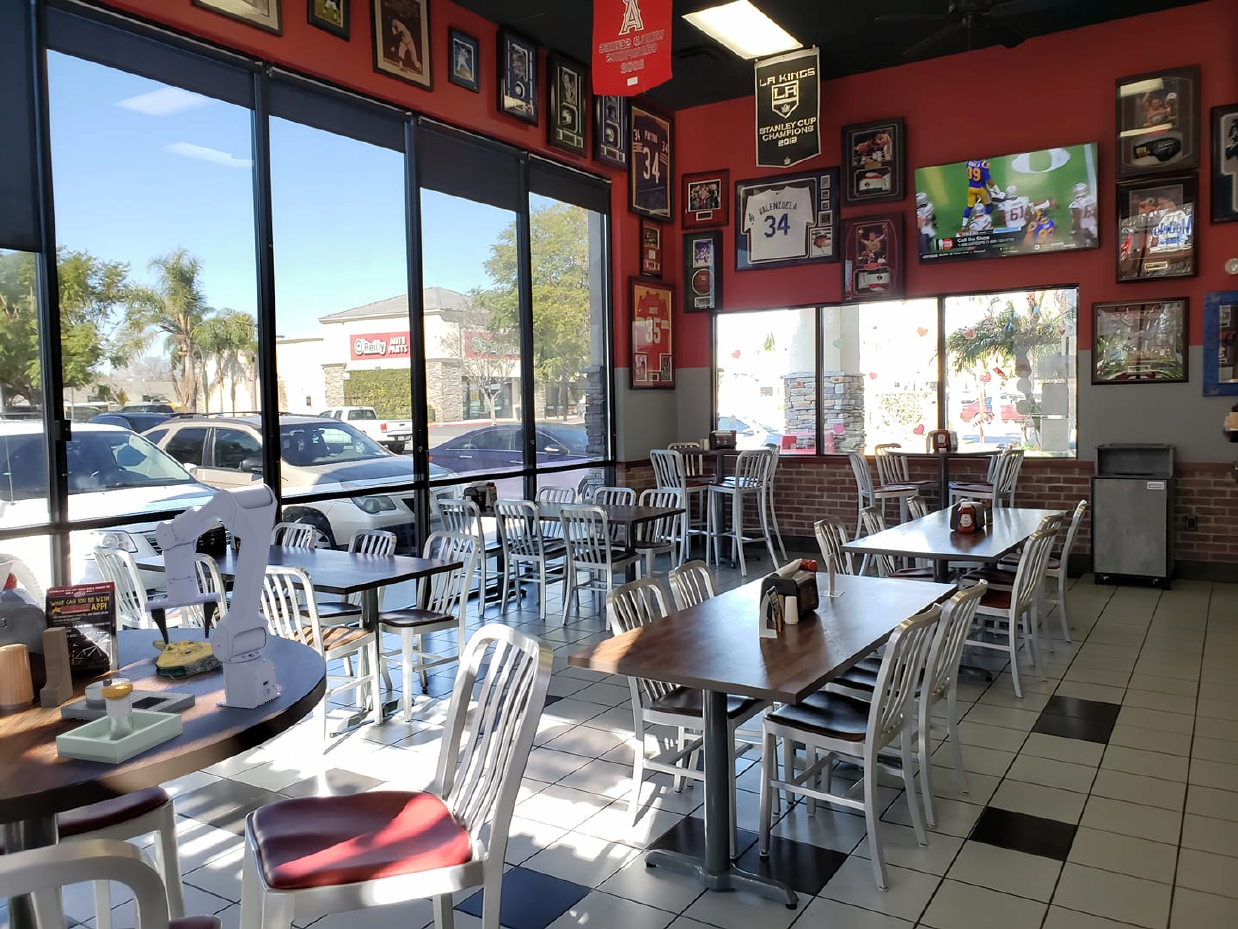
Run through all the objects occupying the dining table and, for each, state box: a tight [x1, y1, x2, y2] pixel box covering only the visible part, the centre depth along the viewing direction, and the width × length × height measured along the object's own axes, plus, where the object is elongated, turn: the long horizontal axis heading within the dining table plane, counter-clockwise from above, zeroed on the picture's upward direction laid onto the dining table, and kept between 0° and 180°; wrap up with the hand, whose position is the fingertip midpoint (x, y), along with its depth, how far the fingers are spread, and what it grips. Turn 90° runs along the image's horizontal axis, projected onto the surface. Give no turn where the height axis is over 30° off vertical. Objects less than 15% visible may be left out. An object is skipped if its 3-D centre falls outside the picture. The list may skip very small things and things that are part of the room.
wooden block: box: [39, 626, 74, 708], centre depth 189 cm, size 7×3×15 cm, turn 6°
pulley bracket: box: [59, 677, 196, 722], centre depth 182 cm, size 22×12×6 cm, turn 70°
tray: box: [55, 710, 184, 765], centre depth 164 cm, size 14×14×4 cm
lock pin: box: [101, 683, 135, 740], centre depth 165 cm, size 5×5×9 cm
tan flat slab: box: [152, 639, 223, 681], centre depth 212 cm, size 14×6×30 cm
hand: (187, 640), depth 193 cm, fingers open, 7 cm apart
